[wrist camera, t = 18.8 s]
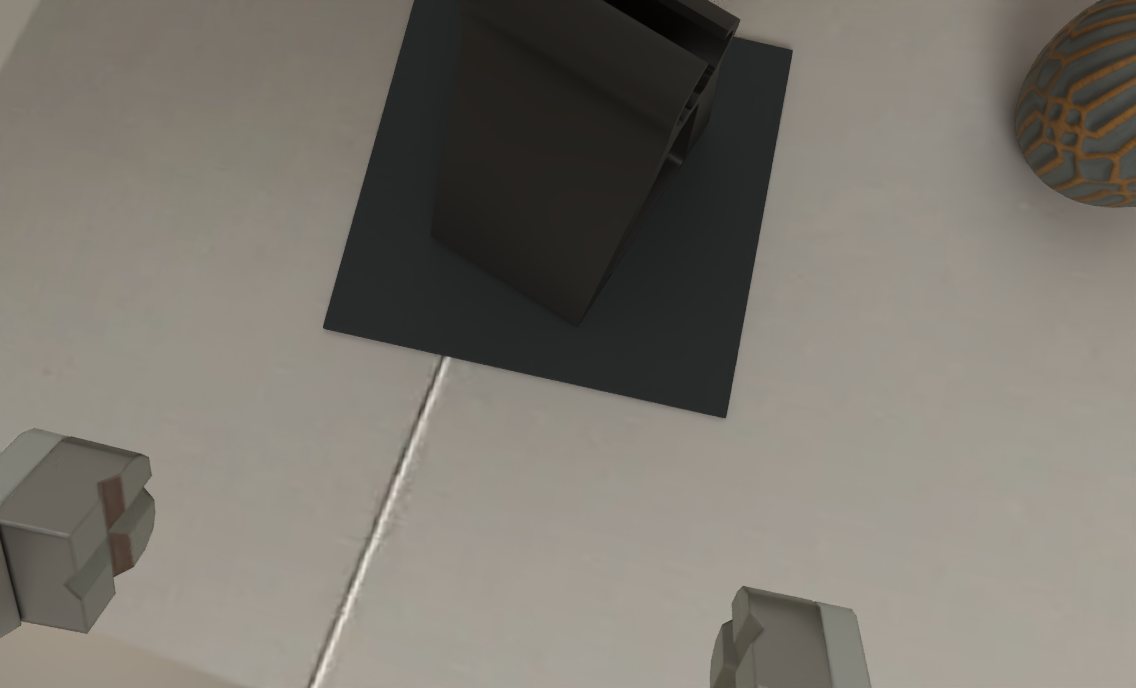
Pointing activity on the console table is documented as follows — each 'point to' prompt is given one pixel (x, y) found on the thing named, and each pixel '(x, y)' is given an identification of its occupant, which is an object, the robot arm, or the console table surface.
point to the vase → (1085, 108)
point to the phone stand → (571, 134)
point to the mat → (636, 287)
